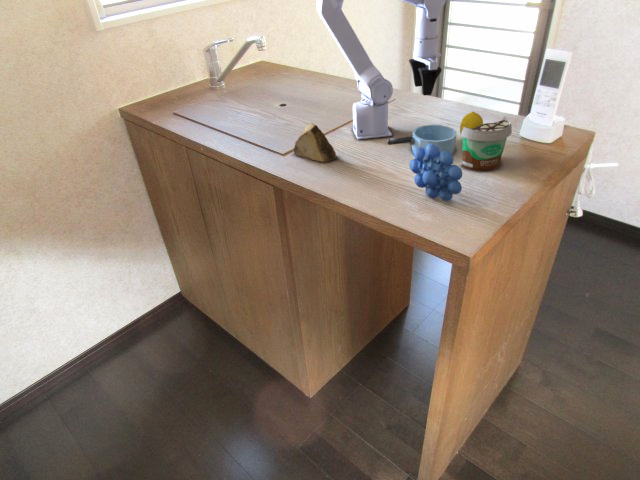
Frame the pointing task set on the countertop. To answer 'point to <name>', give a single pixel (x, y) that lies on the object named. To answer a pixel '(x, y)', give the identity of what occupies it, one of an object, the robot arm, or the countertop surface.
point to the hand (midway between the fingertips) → (422, 90)
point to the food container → (485, 145)
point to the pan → (435, 137)
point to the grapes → (436, 172)
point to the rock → (314, 145)
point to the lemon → (471, 121)
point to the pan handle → (401, 140)
